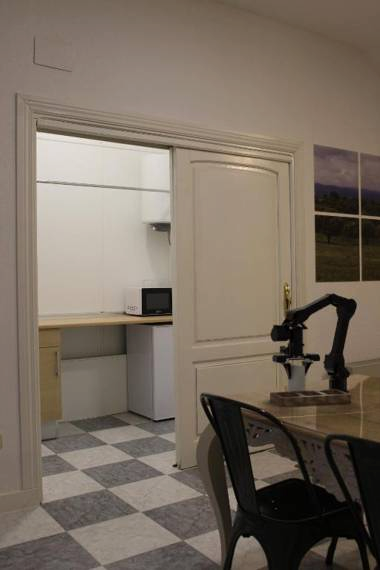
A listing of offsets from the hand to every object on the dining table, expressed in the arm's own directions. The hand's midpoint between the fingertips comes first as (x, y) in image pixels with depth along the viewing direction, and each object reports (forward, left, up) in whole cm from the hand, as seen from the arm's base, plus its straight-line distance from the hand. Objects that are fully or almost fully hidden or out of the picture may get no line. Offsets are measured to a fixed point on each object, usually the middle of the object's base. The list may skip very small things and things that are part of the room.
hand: (296, 379), depth 236 cm
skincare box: (0, 0, -7) cm, 7 cm away
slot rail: (0, +13, -6) cm, 15 cm away
